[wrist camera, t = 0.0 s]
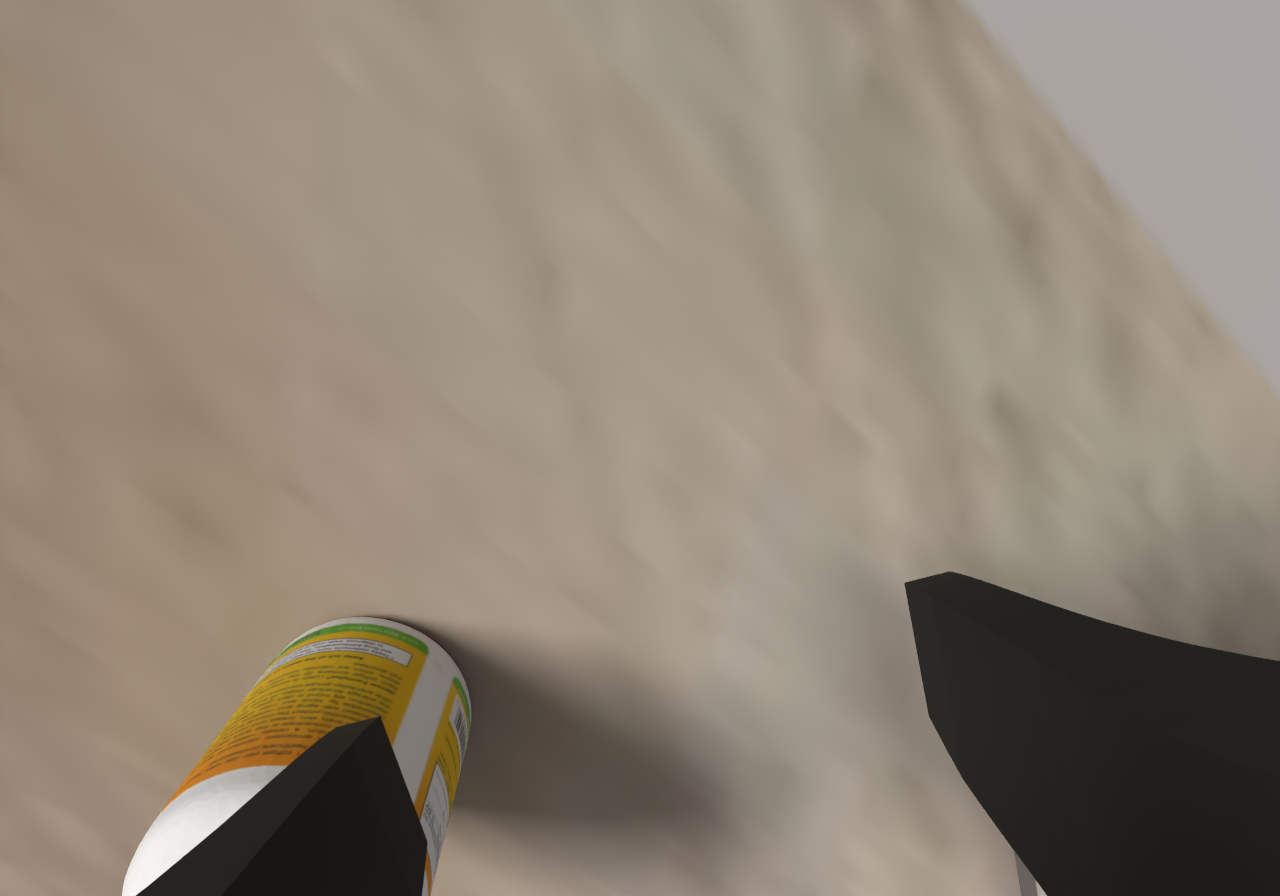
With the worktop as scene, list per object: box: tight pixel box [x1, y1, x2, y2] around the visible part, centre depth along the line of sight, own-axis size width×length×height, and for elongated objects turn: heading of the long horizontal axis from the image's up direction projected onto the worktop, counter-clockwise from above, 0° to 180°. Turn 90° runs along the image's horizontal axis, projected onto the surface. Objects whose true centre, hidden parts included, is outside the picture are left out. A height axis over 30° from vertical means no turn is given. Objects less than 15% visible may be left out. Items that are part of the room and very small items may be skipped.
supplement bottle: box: [122, 617, 471, 896], centre depth 17 cm, size 5×5×10 cm
